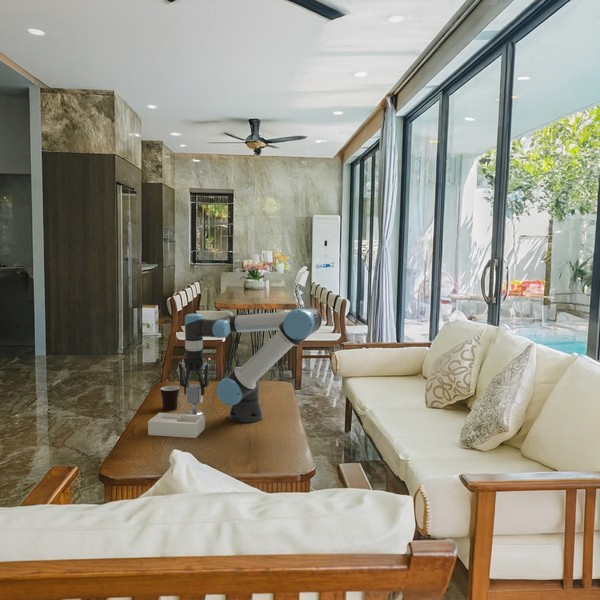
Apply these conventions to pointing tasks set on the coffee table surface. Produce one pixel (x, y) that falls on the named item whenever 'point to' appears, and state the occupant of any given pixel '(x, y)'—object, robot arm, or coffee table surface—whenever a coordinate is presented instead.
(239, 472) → the coffee table surface
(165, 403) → the coffee mug
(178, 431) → the white stepped recess tray
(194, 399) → the t peg
